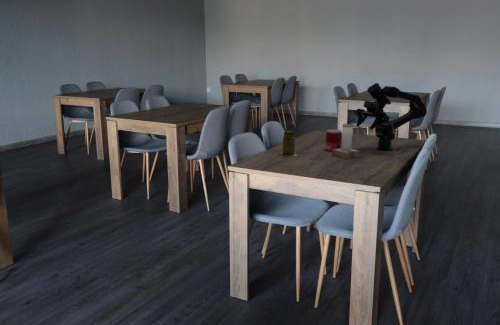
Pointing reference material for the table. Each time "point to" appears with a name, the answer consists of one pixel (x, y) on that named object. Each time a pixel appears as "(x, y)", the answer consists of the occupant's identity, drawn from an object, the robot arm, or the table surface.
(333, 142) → the canned food
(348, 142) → the tumbler
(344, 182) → the table surface
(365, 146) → the table surface
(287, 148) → the condiment
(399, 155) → the table surface
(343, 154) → the plinth
